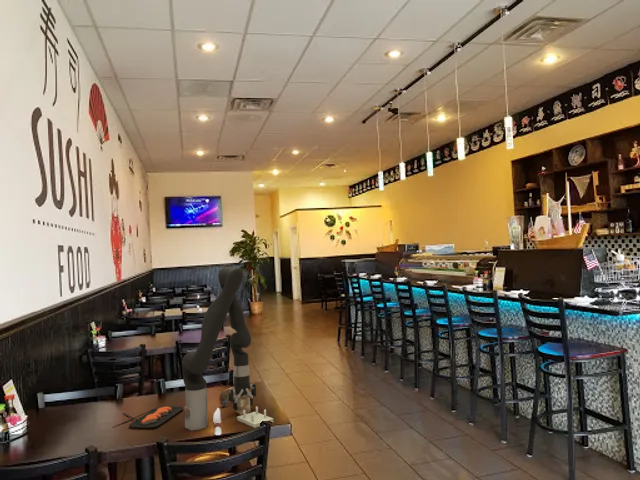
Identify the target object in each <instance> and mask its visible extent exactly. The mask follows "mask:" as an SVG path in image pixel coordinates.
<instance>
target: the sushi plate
mask: <svg viewBox="0 0 640 480" xmlns="http://www.w3.org/2000/svg"><path fill="white" fill-rule="evenodd" d="M183 409H184V407H183V406H171V405H170V406H168V405H167V406H164V405H163V406H162V405H161V406H158V407H156V408H152V409H150V410H148V411H146V412H143V413H141V414H139V415H137V416H135V417H133V416H131V415H129V414H126V413H124V412H123V413H122V415H124V416H126V417H128V418H130V419H127V420H126V421H123V422H122V423H119V424H117V425H116V424H115V426H112V427H111V428H112V429H113V428H116V427H119V426H121V425H124V424H126V423H128V422H130V421H132V422H131V423H130V424H128V427H129V428H141V429H152V428H157V427H159V426H161V425H162V424H163V423H165V422H167V421H168V420H170V419H171V418H172V417H174V416H176V415H177V414H178V413H180V412H181V411H183ZM133 420H134V421H133Z"/></svg>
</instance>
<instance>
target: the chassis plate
mask: <svg viewBox="0 0 640 480" xmlns="http://www.w3.org/2000/svg"><path fill="white" fill-rule="evenodd" d="M236 421H238V422H240V423H243V424H245V425H247V426H250V427H252V428H255V429H256V428H258V427H259V428H260V427H261V426H260V423H261V422H262V421H271V422H272V423H274V418H273V417H270V416H268V415H267V409H263V414H262V413H260V412H259V406H255V411H253V412H252V411H251V412H250V413H246V414H245V410H243V415H241V414H240V415H239V416H236Z"/></svg>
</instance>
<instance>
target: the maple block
mask: <svg viewBox="0 0 640 480" xmlns="http://www.w3.org/2000/svg"><path fill="white" fill-rule="evenodd" d="M243 410H245V414H248V413H249V412H250V413H251V407H250V398H249V397H248V396H247V395H244V396H241V397H240V398H239V399H238V400H237V410H236V411H235V413H236V412H237V414H238V413H239V415H240V416H241V415H242V414H243Z"/></svg>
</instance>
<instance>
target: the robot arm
mask: <svg viewBox="0 0 640 480" xmlns="http://www.w3.org/2000/svg"><path fill="white" fill-rule="evenodd" d="M243 279H244V272H243V270H242V269H241V268H240V267H236V266H232V267H231V266H227V267H225V266H224V267H222V268H221V269H220V270H219V271H218V283H219V284H220V288H221V291H220V294H219V295H218V296H217V297H216V298H215V299H214V301H212V303H210V305H209V306H208V308H207V309H206V312H205V313H204V317H203V319H202V322H201V323H202V324H201V329H200V330H201V333H200V335H201V336H200V341H199V343H198V346H197V349H196V351H195V350H194V351H193V350H191V351H188V352H187V353H186V354H184V356H183V358H182V362H181V363H182V364H181V366H182V369H181V370H182V379H183V380H182V381H183V384H184V387H185V389H184V390H185V406H184V407H183V409H184V428H185V429H187V430H188V431H199V430H203V429H205V428H207V427H208V426H209V417H208V415H209V414H208V412H209V411H208V394H207V393H208V389H207V380H206V379H205V377H204V375H203V374H204V373H205V371H206V370H207V369H208V367H209V364H210V362H211V359H212V354H213V351H214V348H215V344H216V342H217V340H218V338H219V334H220V332H221V330H222V328H223V325H224V322H225V320H226V318H227V315H228V319H229V324H230V328H231V329H232V330H235V332H233V333H231V335H230V338H229V345H230V350H231V352H232V355H233V383H234V386H235V387H234V386H233V387H234V389H229V401H230V402H233V405H232V410H234V411H235V412H236V410H237V400H238V399H239V398H240V396H243V395H244V396H247V397H249V398H250V408H251V407H253V405H254V400H253V399H254V397H256V396H257V388H256V385H257V384H255V383H253V382H252V383H251V380H250V379H251V375H250V372H251V371H250V365H249V354H248V352H247V351H245V350H243V349H246V348H249V346H250V345H251V342H252V338H251V337H252V336H251V334H250V331H249V329H248V325H247V324H246V320H245V314H244V310H243V307H242V305H241V303H240V301H239V298H238V296H237V293H238V291H239V289H240V287H241V285H242V283H243ZM250 389H251V390H250ZM234 391H235V394H234V398H233V393H234ZM237 395H238V396H237Z"/></svg>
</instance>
